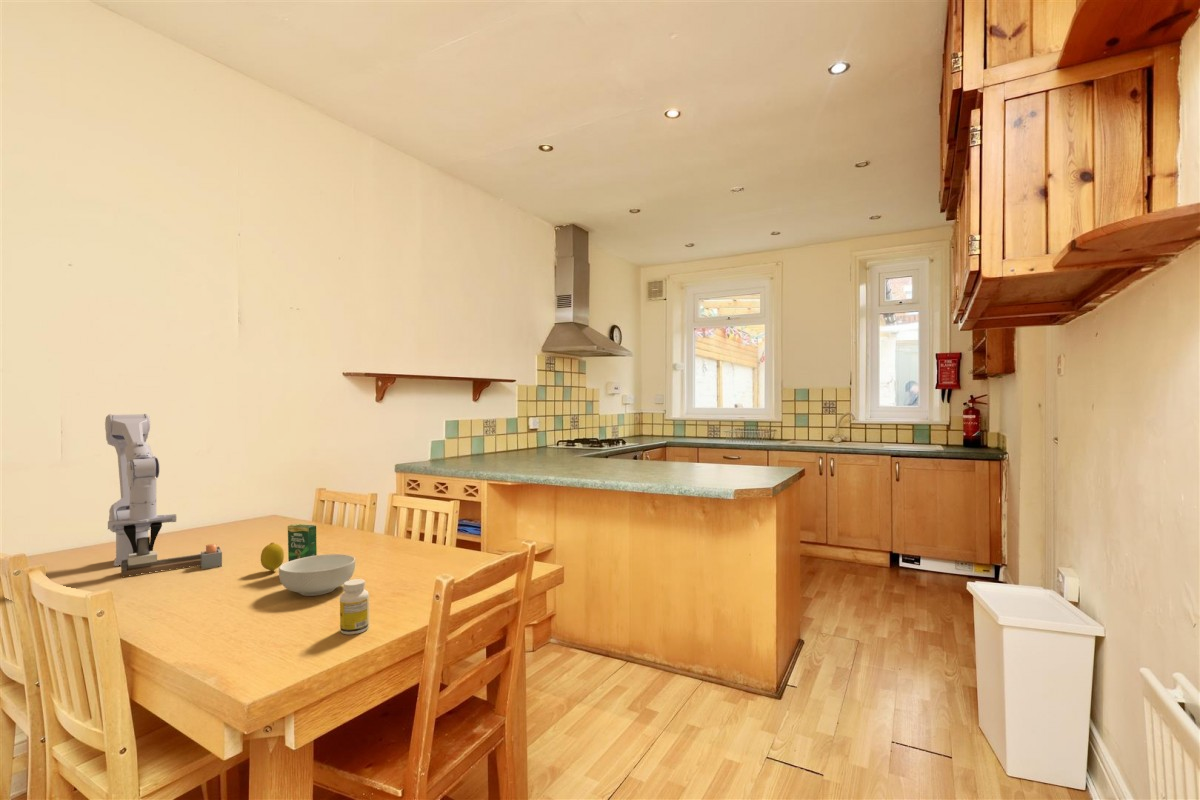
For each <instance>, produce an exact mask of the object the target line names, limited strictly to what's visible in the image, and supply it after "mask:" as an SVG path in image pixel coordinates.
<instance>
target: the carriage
mask: <svg viewBox="0 0 1200 800" xmlns="http://www.w3.org/2000/svg"><path fill="white" fill-rule="evenodd" d="M150 537H151V536H150ZM150 537H149V536H148V537H143V538H138V539H137V553H135V554H129V566H130V565H137V564H144V563H151V562H157V560H158V551H157V550H153V551H150Z"/></svg>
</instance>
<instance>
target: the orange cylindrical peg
mask: <svg viewBox="0 0 1200 800" xmlns="http://www.w3.org/2000/svg"><path fill="white" fill-rule="evenodd" d="M217 547H218V544H216V543H211V544H210V543H209V544H206V545H205V551H206V554H210V553H217Z"/></svg>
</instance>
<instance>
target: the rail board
mask: <svg viewBox="0 0 1200 800" xmlns="http://www.w3.org/2000/svg"><path fill="white" fill-rule="evenodd" d="M217 549H221V548H220V546H217ZM197 565H200V566H201V553H197V554H190V555H184V556H177V557H176V556H175V557H171V558H170V557H169V558H163V559H157V562H151V563H144V564H137V565H130V566H129V564H128V559H126V560H122V562H121V565H120V578H121V577H122V578H124V577H123V576H129V575H135V576H137V575H136V574H141V573H148V574H150V573H149V572H155V571H161V570H168V571H170V570H169V569H174V570H177V569H176V568H181V569H184V568H183V567H187V568H190V567H189V566H194V567H198V566H197ZM161 572H162V571H161ZM155 573H156V572H155ZM129 577H130V576H129Z"/></svg>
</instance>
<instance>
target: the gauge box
mask: <svg viewBox="0 0 1200 800" xmlns="http://www.w3.org/2000/svg"><path fill="white" fill-rule="evenodd" d="M200 554H201V565H200V568H201V567H202V568H201V570H206V569H205V568H209V569H213V568H212V567H215V568H219V567H218V566H221V567H223V551H222V549H221V548H220V549H217V553H210V554H206V550H204V551H200Z"/></svg>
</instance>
